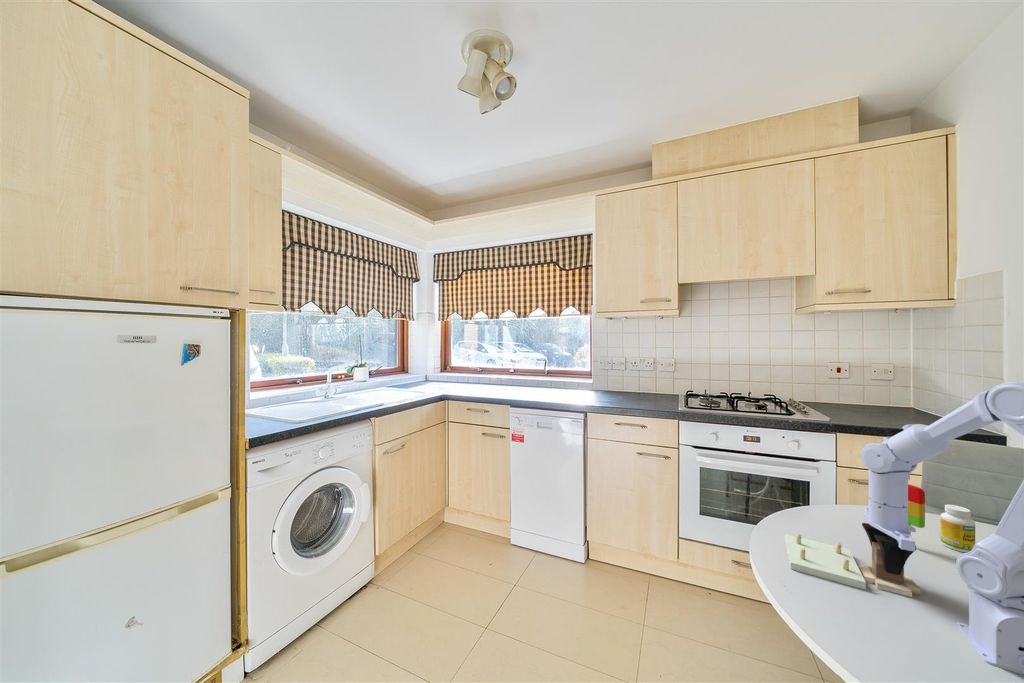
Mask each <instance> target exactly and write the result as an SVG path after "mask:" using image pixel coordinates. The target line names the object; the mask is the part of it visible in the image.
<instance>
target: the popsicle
mask: <svg viewBox="0 0 1024 683" xmlns="http://www.w3.org/2000/svg"><path fill="white" fill-rule="evenodd" d="M908 525H911V526H913V527H915V528H916V527H917V528H919V529H923V528H925V527H926V492H925V491H924V489H923V488H921V487H918V486H915V485H913V484H909V483H908ZM910 533H911V534H912V532H910Z"/></svg>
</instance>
